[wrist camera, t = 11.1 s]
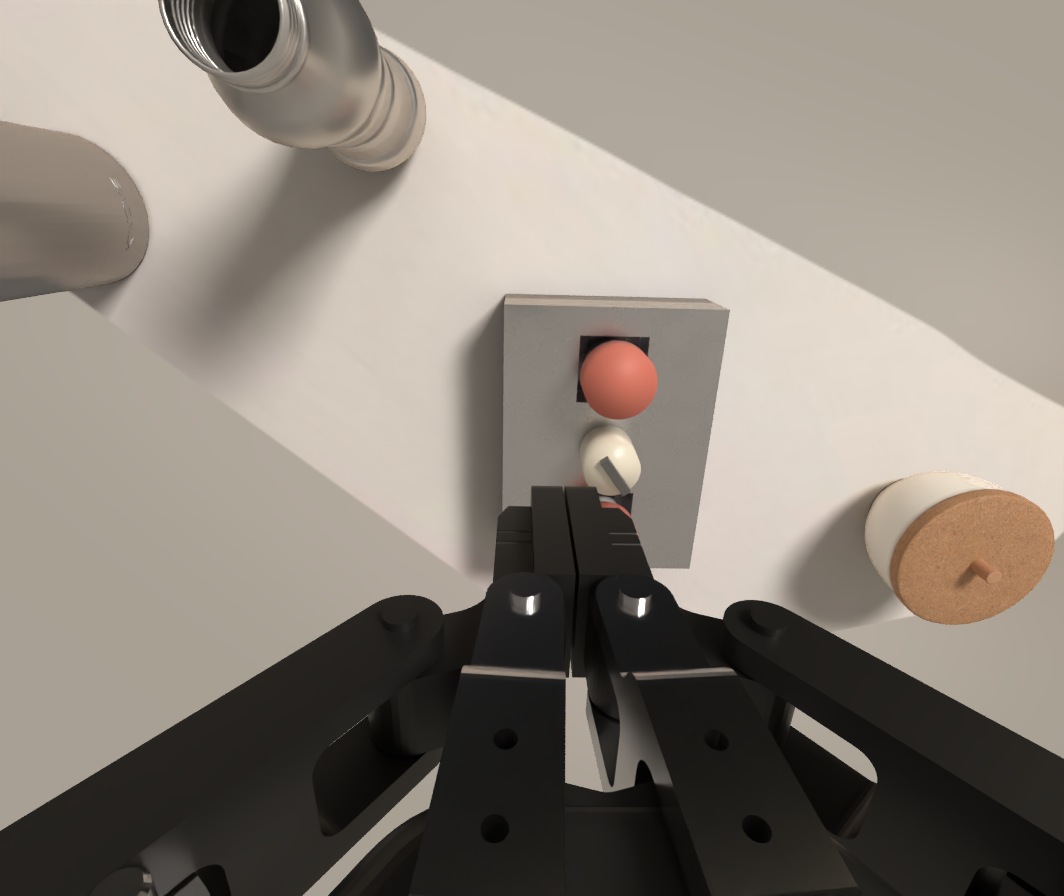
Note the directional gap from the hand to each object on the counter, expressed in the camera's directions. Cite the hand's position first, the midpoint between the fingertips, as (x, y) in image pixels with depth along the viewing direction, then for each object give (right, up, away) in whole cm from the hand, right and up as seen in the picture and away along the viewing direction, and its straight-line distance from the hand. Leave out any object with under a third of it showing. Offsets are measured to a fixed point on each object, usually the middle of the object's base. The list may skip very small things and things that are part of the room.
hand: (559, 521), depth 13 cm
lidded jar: (+30, -3, +34) cm, 45 cm away
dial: (+4, +2, +25) cm, 26 cm away
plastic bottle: (-10, +22, +22) cm, 33 cm away
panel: (+4, +4, +30) cm, 30 cm away
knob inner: (+4, +8, +26) cm, 27 cm away
